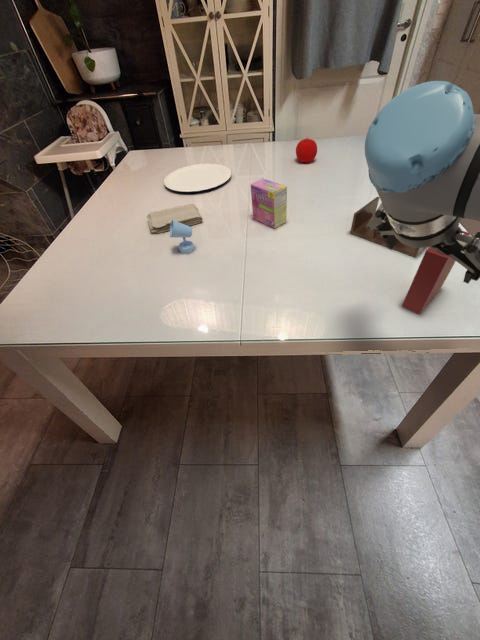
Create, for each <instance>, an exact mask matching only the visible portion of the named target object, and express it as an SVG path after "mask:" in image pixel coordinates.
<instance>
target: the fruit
mask: <svg viewBox="0 0 480 640" xmlns="http://www.w3.org/2000/svg"><path fill="white" fill-rule="evenodd" d="M317 153H318V145H317V143H316V141H315V139H312V138H309V137H308V136H306V138H304V139H301V140H300V141H298V142H297V145H296V147H295V156H296V158H297V160H298V161H299V162H300V163H305V164H310V163H311V162H313V161H314V160H315V158H316V156H317V155H318V154H317Z"/></svg>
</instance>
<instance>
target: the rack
mask: <svg viewBox="0 0 480 640" xmlns="http://www.w3.org/2000/svg"><path fill="white" fill-rule="evenodd" d="M379 201H380V197H379V196H376V197H374V199H372V200H371V201H369V202H368V203H366V204H365V205H364V206H362V207H360V209H358V210H357V211H356V212H353V218H352V221H351V227H350V232H349V233H350V235H352V236H355V237H358V238H361V239H363V240H366V241H370V242H371V243H375V244H378V245H381V246H383V247H386V248H387V246H386V244H385V242H384V240H383V238H382V237H381V236H380V235H378V234H377V233H376V229H372V230H368V229H367V228H366V225H367V224H368V222H369V221H370V219H371V217H372V216H373V214H374V213H375V212H376V211H377V209H378V206H379V205H378V204H379ZM426 248H427V247H425V248H415V247H410V246H407V245H405V244H403V243H401V242H400V241H399V240H398V241H397V243H396V244H395V245H394V247H393V248H392V250H394V251H397V252H399V253H401V254H402V253H403V254H405V255H408V256H410V257H413V258H417V257H418V256H419V255H420V254H421V253H422V252H423V251H424V250H425V249H426Z"/></svg>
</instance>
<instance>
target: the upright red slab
mask: <svg viewBox="0 0 480 640" xmlns="http://www.w3.org/2000/svg"><path fill="white" fill-rule="evenodd" d="M462 232H463V233H464V234H465V235H469V236H471V232H467V231H464V230H462ZM441 246H442V247H443V246H444V245H441ZM456 262H457V261H455V260H454V259H453V258H451V257H450V256H449V255H442V254H439V253H438V252H437V251H435V250H434V249H433V248H431V247H427V249H426V250H425V252H424V254H423V256H422V259H421V261H420V264H419V266H418V268H417V270H416V272H415V274H414V277H413V279H412V282H411V284H410V286H409V289H408V290H407V293H406V295H405V298H404V300H403V302H402V304H401V307H403V308H405V309H406V310H408V311H411V312H413V313H416V314H418V315H420V314H421V313H422V312H423V311H425V308H427V306H428V305H429V304H430V302H431V301H432V300H433V299H434V297H435V296H436V295H437V294H438V293H439V292H440V290H442V287H443V285H444V284H445V282H446V280H447V278H448V276H449V275H450V273H451V271H452V269H453V267H454V266H455V264H456Z"/></svg>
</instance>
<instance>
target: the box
mask: <svg viewBox="0 0 480 640" xmlns="http://www.w3.org/2000/svg"><path fill="white" fill-rule="evenodd" d="M250 195H251V208H252V219H253V220H255V221H257V222H259V223H262V224H264V225H266V226H269V227H270V228H273V229H276V228H278V227H280V226H282V225H283V224H285V223H286V222H287V211H288V210H287V209H288V200H287V199H288V186H287V185H284V184H281V183H278V182H276V181H272V180H269V179H266V178H259V179H258V180H256V181H254V182H252V183H251V184H250Z"/></svg>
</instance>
